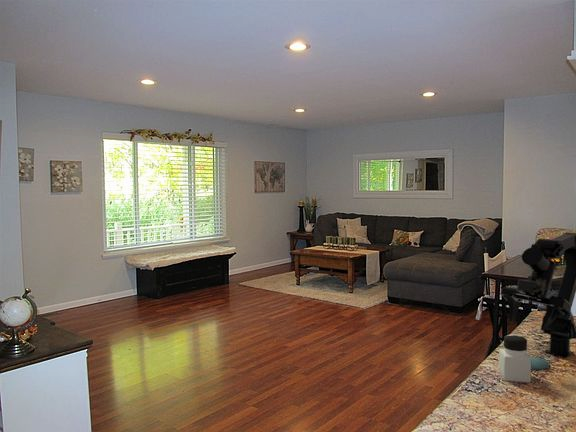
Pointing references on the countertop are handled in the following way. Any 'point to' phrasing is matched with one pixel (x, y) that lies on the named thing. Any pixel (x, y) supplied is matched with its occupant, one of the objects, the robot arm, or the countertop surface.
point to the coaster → (538, 363)
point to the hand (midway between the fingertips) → (526, 326)
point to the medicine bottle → (515, 359)
